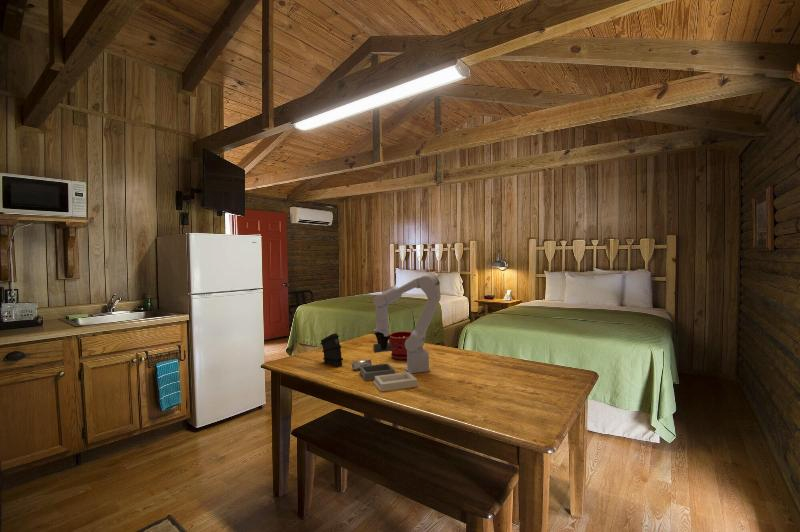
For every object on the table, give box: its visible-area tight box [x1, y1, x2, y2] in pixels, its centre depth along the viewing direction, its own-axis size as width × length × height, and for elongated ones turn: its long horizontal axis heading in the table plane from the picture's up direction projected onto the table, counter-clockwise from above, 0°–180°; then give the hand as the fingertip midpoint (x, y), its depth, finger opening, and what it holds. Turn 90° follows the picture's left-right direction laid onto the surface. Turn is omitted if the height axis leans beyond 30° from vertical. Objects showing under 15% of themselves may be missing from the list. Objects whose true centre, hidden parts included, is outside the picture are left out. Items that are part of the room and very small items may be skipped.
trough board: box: [372, 371, 419, 392], centre depth 156 cm, size 16×10×3 cm, turn 109°
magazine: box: [319, 332, 344, 368], centre depth 185 cm, size 4×13×15 cm, turn 45°
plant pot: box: [388, 331, 413, 361], centre depth 194 cm, size 13×13×12 cm
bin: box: [359, 363, 396, 381], centre depth 168 cm, size 13×10×3 cm
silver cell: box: [351, 359, 373, 371], centre depth 177 cm, size 9×4×4 cm
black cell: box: [372, 342, 392, 353], centre depth 180 cm, size 9×4×4 cm, turn 109°
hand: (382, 348), depth 181 cm, fingers closed on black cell, 4 cm apart
